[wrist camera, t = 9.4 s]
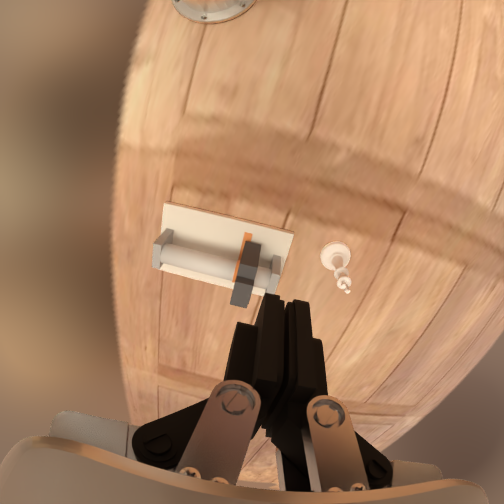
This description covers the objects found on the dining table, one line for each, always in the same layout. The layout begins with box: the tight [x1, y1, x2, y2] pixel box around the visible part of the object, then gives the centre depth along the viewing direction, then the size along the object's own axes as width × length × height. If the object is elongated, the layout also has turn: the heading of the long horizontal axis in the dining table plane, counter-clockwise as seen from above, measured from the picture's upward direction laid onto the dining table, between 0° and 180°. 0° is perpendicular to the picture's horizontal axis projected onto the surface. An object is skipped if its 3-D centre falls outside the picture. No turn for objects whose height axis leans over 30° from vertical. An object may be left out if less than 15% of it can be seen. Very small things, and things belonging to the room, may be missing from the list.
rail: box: [152, 201, 294, 296], centre depth 43 cm, size 20×12×7 cm, turn 77°
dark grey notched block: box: [230, 241, 261, 308], centre depth 41 cm, size 2×7×8 cm, turn 167°
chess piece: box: [320, 241, 351, 293], centre depth 40 cm, size 5×5×10 cm
